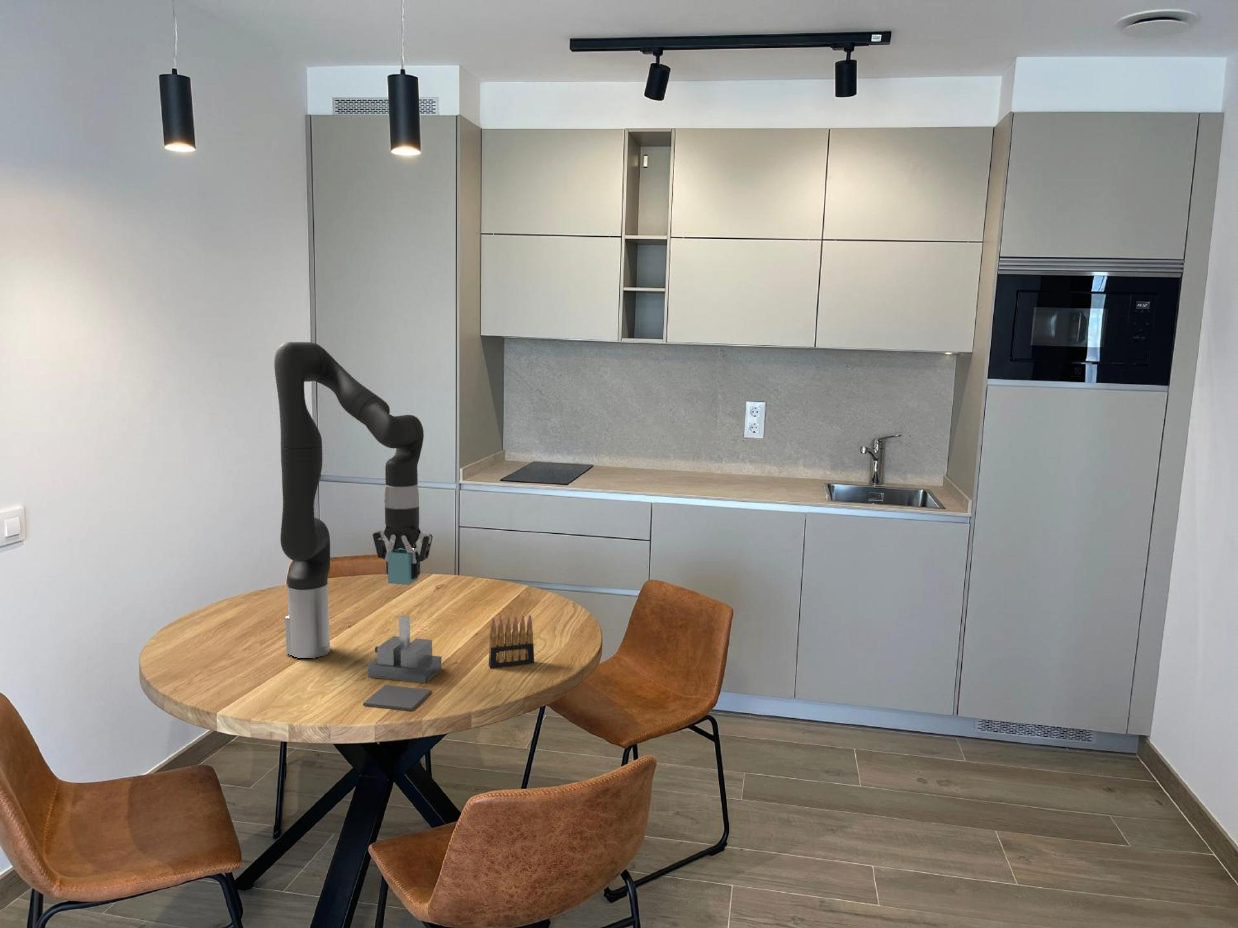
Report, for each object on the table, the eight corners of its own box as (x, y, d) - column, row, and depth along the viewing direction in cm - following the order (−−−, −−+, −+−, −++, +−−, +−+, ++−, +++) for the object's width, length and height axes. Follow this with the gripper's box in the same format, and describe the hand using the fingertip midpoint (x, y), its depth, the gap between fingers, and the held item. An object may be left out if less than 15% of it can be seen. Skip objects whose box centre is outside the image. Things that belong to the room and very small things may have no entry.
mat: (363, 705, 188) (363, 702, 188) (385, 687, 197) (385, 684, 197) (411, 710, 185) (411, 708, 185) (431, 692, 195) (431, 689, 195)
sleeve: (388, 583, 201) (387, 553, 200) (398, 577, 206) (397, 547, 205) (408, 584, 200) (408, 554, 199) (418, 579, 205) (417, 549, 204)
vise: (367, 676, 203) (365, 619, 201) (385, 662, 212) (384, 608, 210) (425, 682, 200) (424, 625, 198) (441, 668, 209) (440, 612, 207)
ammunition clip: (532, 660, 215) (532, 612, 213) (534, 663, 213) (534, 615, 211) (488, 665, 211) (488, 617, 209) (490, 668, 209) (489, 619, 208)
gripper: (438, 503, 202) (439, 575, 205) (380, 499, 205) (382, 571, 208) (424, 509, 195) (425, 584, 198) (364, 505, 198) (366, 579, 201)
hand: (403, 577), depth 203 cm, fingers closed on sleeve, 5 cm apart
